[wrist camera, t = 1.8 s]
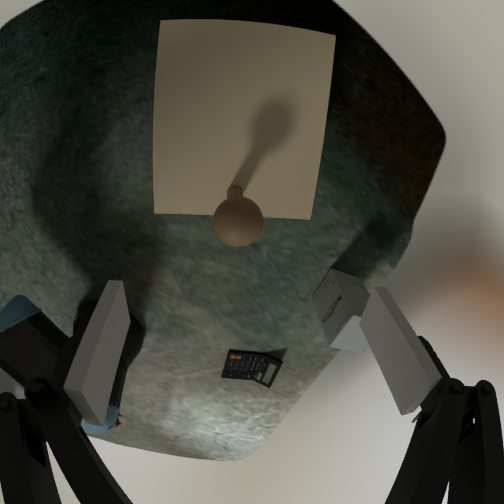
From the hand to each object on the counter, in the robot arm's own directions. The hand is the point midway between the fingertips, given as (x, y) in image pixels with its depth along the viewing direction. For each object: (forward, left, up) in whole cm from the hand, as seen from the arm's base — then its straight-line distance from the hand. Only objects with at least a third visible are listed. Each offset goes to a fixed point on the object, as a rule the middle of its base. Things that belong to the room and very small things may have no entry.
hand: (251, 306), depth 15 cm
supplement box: (+20, -21, -31) cm, 43 cm away
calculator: (+6, -43, -31) cm, 54 cm away
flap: (0, +8, -18) cm, 20 cm away
